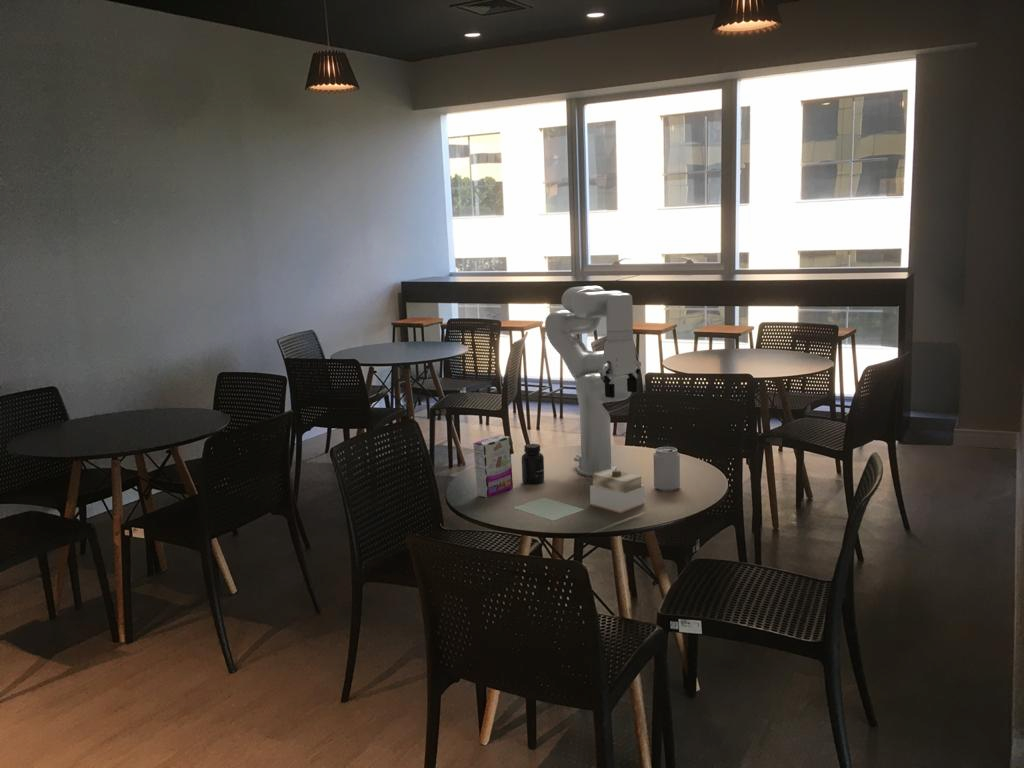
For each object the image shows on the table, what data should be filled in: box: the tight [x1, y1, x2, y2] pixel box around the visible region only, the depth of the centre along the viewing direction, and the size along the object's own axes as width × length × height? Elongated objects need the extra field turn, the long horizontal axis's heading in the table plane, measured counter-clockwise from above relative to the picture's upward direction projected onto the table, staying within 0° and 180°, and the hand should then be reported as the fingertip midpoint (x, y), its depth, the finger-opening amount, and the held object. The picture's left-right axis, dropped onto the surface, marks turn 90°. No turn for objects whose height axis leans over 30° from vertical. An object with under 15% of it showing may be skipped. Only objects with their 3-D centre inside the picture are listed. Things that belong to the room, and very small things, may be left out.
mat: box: [513, 497, 585, 522], centre depth 232 cm, size 16×12×1 cm
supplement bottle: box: [521, 443, 545, 486], centre depth 257 cm, size 7×7×12 cm
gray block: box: [589, 484, 645, 514], centre depth 232 cm, size 11×10×6 cm
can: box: [653, 446, 681, 492], centre depth 246 cm, size 8×8×12 cm
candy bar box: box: [473, 434, 514, 499], centre depth 249 cm, size 11×5×16 cm, turn 137°
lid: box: [592, 469, 642, 493], centre depth 231 cm, size 12×6×4 cm, turn 42°
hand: (621, 394), depth 244 cm, fingers open, 9 cm apart
